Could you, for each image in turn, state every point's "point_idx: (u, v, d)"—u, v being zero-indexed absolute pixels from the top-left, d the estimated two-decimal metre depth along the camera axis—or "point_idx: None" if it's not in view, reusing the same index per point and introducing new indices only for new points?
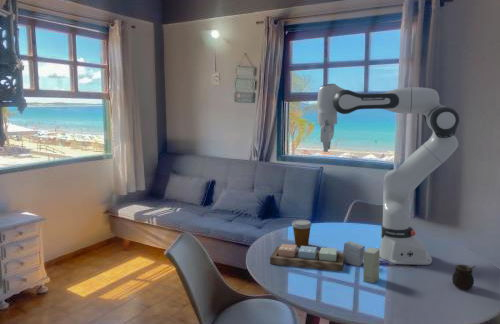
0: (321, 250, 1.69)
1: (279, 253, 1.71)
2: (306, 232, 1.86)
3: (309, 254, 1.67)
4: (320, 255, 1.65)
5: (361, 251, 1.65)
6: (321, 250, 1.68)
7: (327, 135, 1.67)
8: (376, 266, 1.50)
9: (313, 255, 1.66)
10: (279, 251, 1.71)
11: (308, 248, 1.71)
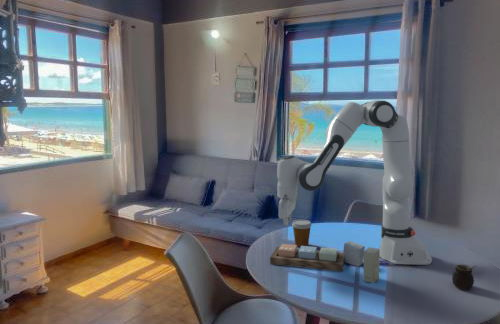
0: (321, 250, 1.69)
1: (279, 253, 1.71)
2: (306, 232, 1.86)
3: (309, 254, 1.67)
4: (320, 255, 1.65)
5: (361, 251, 1.65)
6: (321, 250, 1.68)
7: (285, 212, 1.61)
8: (376, 266, 1.50)
9: (313, 255, 1.66)
10: (279, 251, 1.71)
11: (308, 248, 1.71)
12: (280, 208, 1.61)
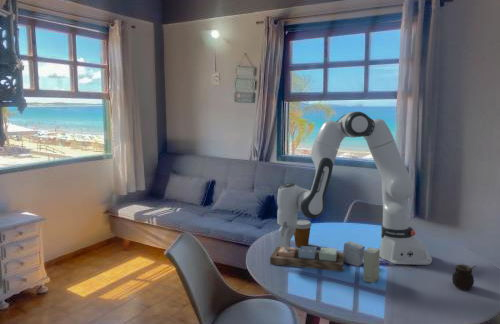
0: (321, 250, 1.69)
1: (279, 255, 1.71)
2: (306, 232, 1.86)
3: (309, 254, 1.67)
4: (320, 255, 1.65)
5: (361, 251, 1.65)
6: (321, 250, 1.68)
7: (285, 240, 1.63)
8: (376, 266, 1.50)
9: (313, 255, 1.66)
10: (279, 253, 1.71)
11: (308, 248, 1.71)
12: (280, 236, 1.63)
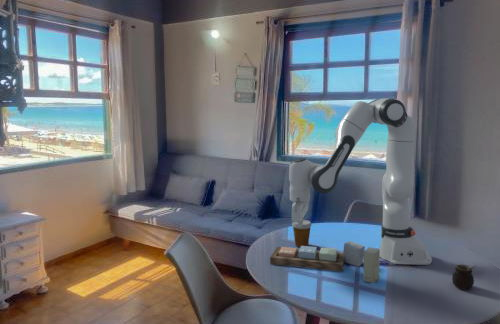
0: (321, 250, 1.69)
1: None
2: (306, 232, 1.86)
3: (309, 254, 1.67)
4: (320, 255, 1.65)
5: (361, 251, 1.65)
6: (321, 250, 1.68)
7: (298, 215, 1.59)
8: (376, 266, 1.50)
9: (313, 255, 1.66)
10: (279, 254, 1.71)
11: (308, 248, 1.71)
12: (293, 211, 1.60)
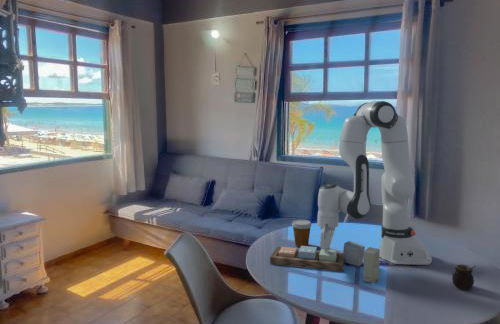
0: (321, 251, 1.69)
1: None
2: (306, 232, 1.86)
3: (309, 254, 1.67)
4: (320, 256, 1.66)
5: (361, 251, 1.65)
6: (321, 252, 1.68)
7: (327, 242, 1.57)
8: (376, 266, 1.50)
9: (313, 255, 1.66)
10: (279, 254, 1.71)
11: (308, 248, 1.71)
12: (322, 238, 1.58)
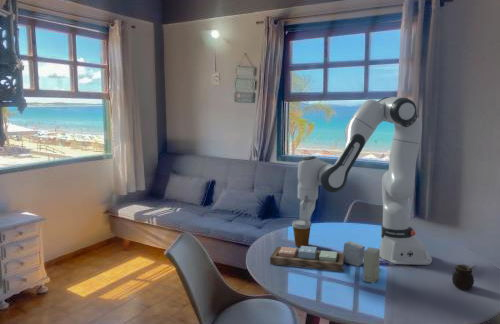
0: (321, 253, 1.69)
1: None
2: (306, 232, 1.86)
3: (309, 254, 1.67)
4: (320, 258, 1.66)
5: (361, 251, 1.65)
6: (321, 254, 1.68)
7: (306, 214, 1.58)
8: (376, 266, 1.50)
9: (313, 255, 1.66)
10: (279, 254, 1.71)
11: (308, 248, 1.71)
12: (301, 210, 1.58)
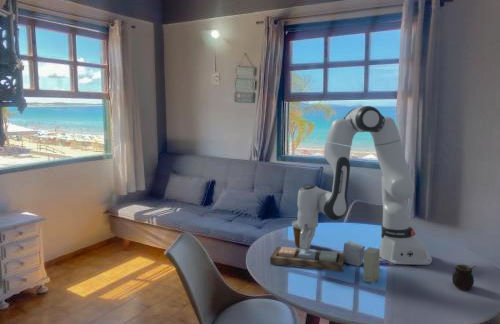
0: (321, 253, 1.69)
1: None
2: None
3: (309, 256, 1.67)
4: (320, 258, 1.66)
5: (361, 251, 1.65)
6: (321, 254, 1.68)
7: (306, 243, 1.60)
8: (376, 266, 1.50)
9: (313, 258, 1.67)
10: (279, 254, 1.71)
11: None
12: (301, 239, 1.60)
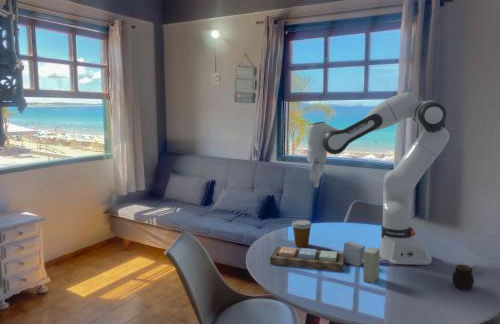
0: (321, 253, 1.69)
1: None
2: (306, 232, 1.86)
3: (309, 256, 1.67)
4: (320, 258, 1.66)
5: (361, 251, 1.65)
6: (321, 254, 1.68)
7: (316, 174, 1.68)
8: (376, 266, 1.50)
9: (313, 257, 1.67)
10: (279, 254, 1.71)
11: (308, 250, 1.71)
12: (311, 170, 1.69)
